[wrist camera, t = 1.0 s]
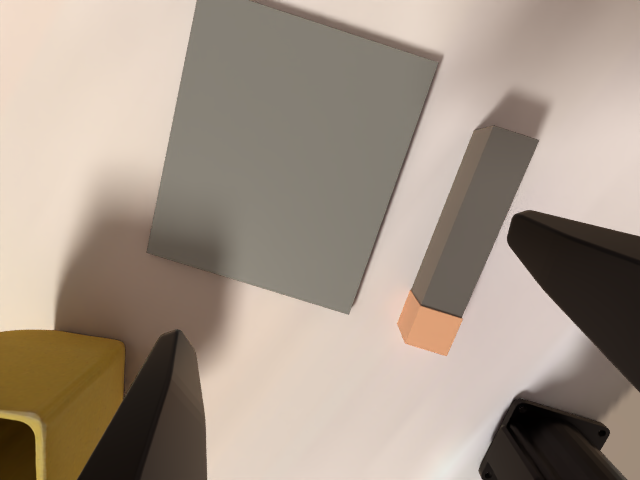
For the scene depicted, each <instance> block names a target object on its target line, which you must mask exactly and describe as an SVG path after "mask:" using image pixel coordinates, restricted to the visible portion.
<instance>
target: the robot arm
mask: <svg viewBox="0 0 640 480" xmlns="http://www.w3.org/2000/svg"><path fill="white" fill-rule="evenodd" d="M507 242H508V244H509V246H510V248H511V249H512V250H513V252H514V253H515V254H516V255H517V257H518V258H519V259H520V261H521V262H522V263H523V265H524V266H525V267H526V268H527V270H528V271H529V272H530V274H531V275H532V276H533V277H534V279H535V280H536V281H537V283H538V284H539V285H540V286H541V288H542V289H543V290H544V291H545V292H546V293H547V294H548V296H549V297H550V298H551V299H552V300H553V301H554V302H555V303H556V304H557V305H558V306H559V307H560V308H561V309H562V310H563V311H564V313H565V314H566V315H567V316H568V317H569V318H570V319H571V320H572V321H573V322H574V323H575V324H576V325H577V326H578V327H579V328H580V330H581V331H582V332H583V333H584V334H585V335H586V336H587V337H588V338H589V339H590V340H591V341H592V342H593V343H594V344H595V345H596V346H597V348H598V349H599V350H600V351H601V352H602V353H603V354H604V355H605V356H606V357H607V358H608V359H609V360H610V361H611V362H612V363H613V365H614V366H615V367H616V368H617V369H618V370H619V371H620V372H621V373H622V374H623V375H624V376H625V377H626V378H627V379H628V380H629V382H630V383H631V384H632V385H633V386H634V387H635V388H636V389H637V390H638V391H639V392H640V236H636V235H632V234H628V233H624V232H619V231H615V230H611V229H607V228H603V227H599V226H595V225H590V224H586V223H582V222H578V221H574V220H570V219H566V218H561V217H557V216H553V215H549V214H545V213H541V212H537V211H532V210H526V211H523V212H520V213H517V214H515V215H514V216H513V217H512V220H511V224H510V227H509V231H508V235H507ZM521 406H523V407H522V408H520V407H521ZM609 434H610V431H609V429H608V428H607V427H606V426H605V425H604V424H602V423H600V422H597V421H594V420H591V419H587V418H584V417H581V416H577V415H574V414H571V413H568V412H564V411H561V410H558V409H554V408H551V407H548V406H544V405H541V404H538V403H535V402H531V401H528V400H525V399H516V400H514V401H513V403H512V405H511V407H510V409H509V411H508V412H507V414H506V416H505V418H504V420H503V422H502V424H501V426H500V428H499V430H498V432H497V434H496V436H495V438H494V440H493V442H492V444H491V446H490V448H489V450H488V452H487V454H486V456H485V458H484V460H483V462H482V464H481V466H480V468H479V474H480V476H481V478H482V479H483V480H627V479H626V478H625V477H624V476H623V475H622V473H621V472H620V471H619V470H618V469H617V468H616V467H615V466H614V465H613V464H612V463H611V462H610V461H609V460H608V459H607V458H606V457H605V455H604V454H602V452H601V451H600V450H601V448H602V447H603V445H604V443H605V442H606V440H607V438H608V436H609ZM77 480H207V457H206V425H205V413H204V405H203V398H202V392H201V385H200V378H199V371H198V364H197V358H196V353H195V351H194V348H193V347H192V345H191V344H190V342H189V341H188V340H187V338H186V337H185V335H184V334H183V332H182V331H181V330H178V329H177V330H173V331H170V332H168V333H165V334H162V335H161V336H160V337H159V339H158V340H157V342H156V344H155V346H154V347H153V349H152V351H151V352H150V354H149V356H148V358H147V359H146V361H145V363H144V364H143V366H142V368H141V370H140V371H139V373H138V375H137V377H136V378H135V380H134V382H133V383H132V385H131V387H130V389H129V390H128V392H127V394H126V396H125V397H124V399H123V401H122V402H121V404H120V406H119V408H118V409H117V411H116V413H115V415H114V416H113V418H112V420H111V421H110V423H109V425H108V427H107V428H106V430H105V432H104V433H103V435H102V437H101V439H100V440H99V442H98V444H97V446H96V447H95V449H94V451H93V452H92V454H91V456H90V458H89V459H88V461H87V463H86V465H85V466H84V468H83V470H82V471H81V473H80V475H79V477H78V478H77Z"/></svg>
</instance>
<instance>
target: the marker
mask: <svg viewBox="0 0 640 480" xmlns="http://www.w3.org/2000/svg"><path fill="white" fill-rule="evenodd" d="M538 142H539V140H537V139H534V138H531V137H528V136H525V135H522V134H519V133H516V132H513V131H510V130H506V129H503V128H500V127H497V126H494V125H493V126H489V127H486V128H482V129H478V130H474V132H473V134H472V137H471V139H470V142H469V144H468V147H467V149H466V152H465V155H464V157H463V160H462V162H461V165H460V167H459V170H458V172H457V175H456V177H455V180H454V182H453V185H452V188H451V190H450V193H449V195H448V198H447V200H446V203H445V205H444V208H443V210H442V213H441V216H440V218H439V221H438V223H437V226H436V228H435V231H434V233H433V236H432V238H431V241H430V243H429V246H428V249H427V251H426V254H425V256H424V259H423V261H422V264H421V266H420V269H419V271H418V274H417V277H416V279H415V282H414V284H413V287H412V289H411V290H410V292H409V295H408V297H407V300H406V302H405V305H404V307H403V310H402V313H401V315H400V318H399V320H398V323H397V325H398V327H399V330H400V332H401V334H402V337H403V339H404V342H405V344H408V345H412V346H415V347H418V348H422V349H425V350H428V351H431V352H435V353H438V354H441V355H444V356H447V354H448V352H449V350H450V347H451V345H452V343H453V341H454V338H455V336H456V334H457V331H458V329H459V327H460V325H461V322H462V320H463V319H462V316H463V313H464V311H465V309H466V306H467V304H468V302H469V300H470V297H471V295H472V293H473V290H474V288H475V286H476V284H477V281H478V279H479V277H480V274H481V272H482V270H483V268H484V265H485V263H486V261H487V258H488V256H489V254H490V252H491V249H492V247H493V245H494V242H495V240H496V238H497V236H498V233H499V231H500V229H501V226H502V224H503V222H504V220H505V217H506V215H507V213H508V210H509V208H510V206H511V204H512V201H513V199H514V197H515V194H516V192H517V190H518V188H519V185H520V183H521V181H522V178H523V176H524V174H525V172H526V169H527V167H528V165H529V163H530V160H531V158H532V156H533V153H534V151H535V149H536V147H537V144H538Z"/></svg>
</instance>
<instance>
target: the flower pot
mask: <svg viewBox="0 0 640 480" xmlns="http://www.w3.org/2000/svg"><path fill="white" fill-rule="evenodd" d="M124 366H125V346H124V343H123V342H121V341H119V340H114V339H108V338H102V337H94V336H88V335H81V334H75V333H69V332H64V331H58V330H14V331H4V332H0V480H77V478H78V477H79V475H80V473H81V471H82V470H83V468H84V466H85V465H86V463H87V461H88V459H89V458H90V456H91V454H92V452H93V451H94V449H95V447H96V446H97V444H98V442H99V440H100V439H101V437H102V435H103V433H104V432H105V430H106V428H107V427H108V425H109V423H110V421H111V420H112V418H113V416H114V415H115V413H116V411H117V409H118V408H119V406H120V404H121V402H122V401H123V391H124Z"/></svg>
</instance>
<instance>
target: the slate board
mask: <svg viewBox="0 0 640 480" xmlns="http://www.w3.org/2000/svg"><path fill="white" fill-rule="evenodd" d="M437 65H438V62H436V61H432V60H429V59H426V58H423V57H420V56H417V55H414V54H411V53H408V52H405V51H402V50H399V49H396V48H393V47H390V46H387V45H384V44H381V43H378V42H375V41H372V40H368V39H365V38H362V37H359V36H356V35H353V34H350V33H347V32H344V31H341V30H338V29H335V28H332V27H329V26H326V25H323V24H320V23H317V22H314V21H311V20H308V19H305V18H301V17H298V16H295V15H292V14H289V13H286V12H283V11H280V10H277V9H274V8H271V7H268V6H265V5H262V4H259V3H256V2H253V1H250V0H197V2H196V7H195V12H194V17H193V22H192V27H191V32H190V37H189V42H188V47H187V52H186V57H185V62H184V67H183V72H182V77H181V82H180V87H179V92H178V97H177V102H176V107H175V112H174V117H173V122H172V127H171V132H170V137H169V142H168V147H167V152H166V157H165V162H164V167H163V172H162V177H161V182H160V188H159V193H158V198H157V203H156V208H155V213H154V218H153V223H152V228H151V233H150V238H149V243H148V248H147V253H149V254H152V255H156V256H159V257H162V258H165V259H169V260H172V261H175V262H178V263H182V264H185V265H188V266H192V267H195V268H198V269H201V270H205V271H208V272H211V273H214V274H218V275H221V276H224V277H227V278H231V279H234V280H237V281H241V282H244V283H247V284H250V285H254V286H257V287H260V288H263V289H267V290H270V291H273V292H276V293H280V294H283V295H286V296H290V297H293V298H296V299H299V300H303V301H306V302H309V303H312V304H316V305H319V306H322V307H325V308H329V309H332V310H335V311H339V312H342V313H345V314H348V315H349V313H350V310H351V307H352V304H353V302H354V299H355V296H356V293H357V290H358V288H359V285H360V282H361V279H362V276H363V274H364V271H365V268H366V265H367V262H368V259H369V257H370V254H371V251H372V248H373V245H374V243H375V240H376V237H377V234H378V231H379V228H380V226H381V223H382V220H383V217H384V214H385V212H386V209H387V206H388V203H389V200H390V198H391V195H392V192H393V189H394V186H395V183H396V181H397V178H398V175H399V172H400V169H401V167H402V164H403V161H404V158H405V155H406V152H407V150H408V147H409V144H410V141H411V138H412V136H413V133H414V130H415V127H416V124H417V122H418V119H419V116H420V113H421V110H422V107H423V105H424V102H425V99H426V96H427V93H428V91H429V88H430V85H431V82H432V79H433V77H434V74H435V71H436V68H437Z"/></svg>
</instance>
